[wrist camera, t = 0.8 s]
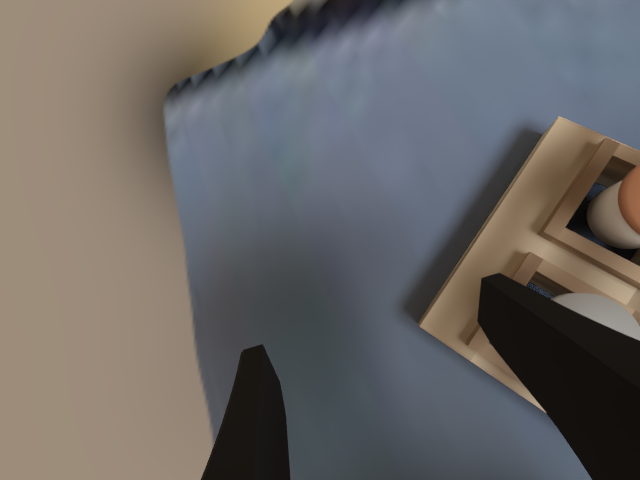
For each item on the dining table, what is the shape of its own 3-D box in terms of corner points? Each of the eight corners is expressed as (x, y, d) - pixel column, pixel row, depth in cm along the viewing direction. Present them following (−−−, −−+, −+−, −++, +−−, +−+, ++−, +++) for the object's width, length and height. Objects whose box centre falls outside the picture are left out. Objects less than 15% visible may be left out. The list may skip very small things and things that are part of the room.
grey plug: (608, 322, 19) (666, 330, 15) (565, 387, 19) (611, 414, 15) (532, 278, 20) (566, 274, 16) (492, 339, 20) (515, 351, 16)
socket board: (737, 222, 21) (802, 208, 17) (591, 441, 21) (628, 470, 17) (543, 133, 24) (566, 107, 21) (417, 323, 24) (420, 328, 21)
